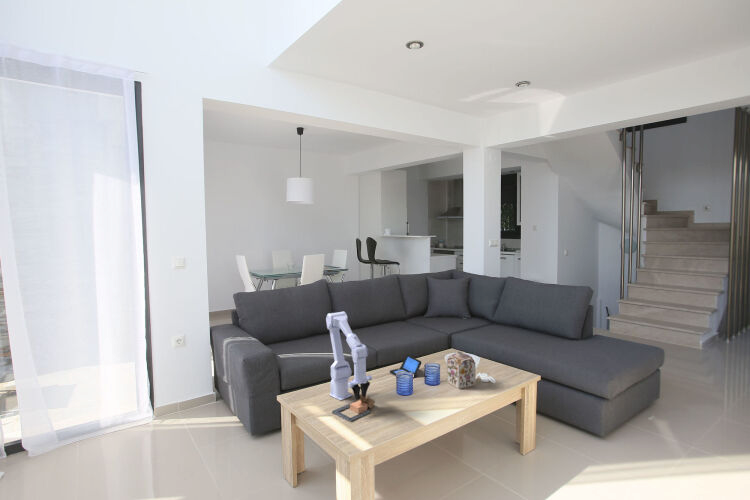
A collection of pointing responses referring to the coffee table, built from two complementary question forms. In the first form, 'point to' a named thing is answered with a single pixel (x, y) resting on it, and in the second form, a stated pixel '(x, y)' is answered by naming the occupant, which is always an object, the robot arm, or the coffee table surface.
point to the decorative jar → (461, 370)
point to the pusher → (367, 401)
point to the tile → (358, 407)
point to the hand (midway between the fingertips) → (360, 397)
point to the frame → (337, 412)
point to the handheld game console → (408, 366)
